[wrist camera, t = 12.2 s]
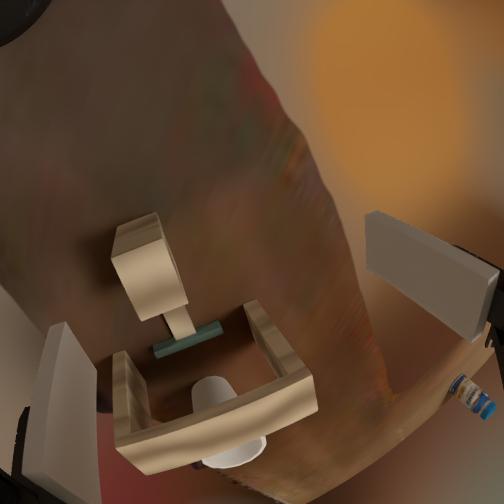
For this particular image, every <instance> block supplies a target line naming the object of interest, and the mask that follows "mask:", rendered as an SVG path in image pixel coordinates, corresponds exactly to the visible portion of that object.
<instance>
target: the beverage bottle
mask: <svg viewBox="0 0 504 504" xmlns="http://www.w3.org/2000/svg"><path fill="white" fill-rule="evenodd" d="M450 393H452V394H453V395H454V396H455V397H456V398H458V399H459V400H460V401H461V402H462V403H463V404H464V405H465V406H466V407H467V408H468V409H471V412H473V413H480V417H481V418H482V419H483V420H487V419H488V418H489V416H491V414H492V413H493V412H494V410H495V409H496V407H497V405H496V404H495V403H494V402H493V401H489V397H488V395H487V393H484V391H483V389H481V388H479V387H478V386H477V385H476V384H474V383H473V382H472V381H471V380H469V379H468V378H467V377H466V376H465V375H464V374H462V375H460V376H459V377H458V378H457V379H456V380H455V381H454V382H453V384H452V386H451V387H450Z"/></svg>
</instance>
